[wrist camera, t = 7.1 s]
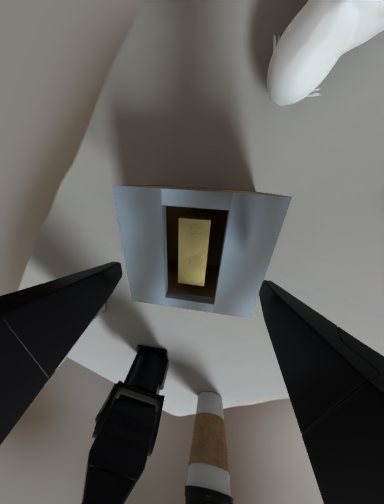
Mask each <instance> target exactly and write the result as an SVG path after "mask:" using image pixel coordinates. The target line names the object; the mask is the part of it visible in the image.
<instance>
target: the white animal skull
mask: <svg viewBox="0 0 384 504" xmlns="http://www.w3.org/2000/svg"><path fill="white" fill-rule="evenodd" d="M383 30H384V0H308V1H307V3H306V4H305V6H304V7H303V8H302V9H301V10H300V12H299V13H298V14H297V15H296V16H295V18H294V19H293V20H292V21H291V23H290V24H289V25H288V27H287V28H286V30H285V31H284V33H283V34H282V36H281V38H280V40H279V38H278V43H277V45H276V36H275V37H274V38H273V39H274V40H273V55H272V57H271V60H270V63H269V67H268V73H267V91H268V93H269V97H270V99H271V100H272V101H273V102H274V103H276V104H279V105H281V106H283V105H288V104H293V103H296V102H298V101H300V100H302V99H303V98H305V97H311V96H318V95H320V94H319V93H311V92H313V91H317V90H320V89H316V90H314V89H315V88H316V87H317V86H318V85H319V84H320V83H321V82H322V81H323V79H324V78H325V77H326V76H327V74H328V73H329V72H330V70H331V69H332V67H333V66H334V65H335V63H336V62H337V60H338V59H339V57H340V56H341V55H342V54H344V53H346V52H347V51H349V50H351V49H353V48H355V47H357V46H359V45H361V44H363V43H364V42H366V41H367V40H369V39H370V38H372V37H374V36H375V35H377V34H378V33H380V32H381V31H383ZM279 36H280V35H279ZM321 95H322V94H321Z"/></svg>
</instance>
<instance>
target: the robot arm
mask: <svg viewBox="0 0 384 504" xmlns="http://www.w3.org/2000/svg"><path fill="white" fill-rule="evenodd" d="M121 277H122V268H121V264H120V263H119V262H111V263H108V264H104V265H101V266H98V267H95V268H91V269H88V270H85V271H82V272H78V273H75V274H72V275H69V276H65V277H62V278H59V279H56V280H53V281H49V282H46V283H44V284H39V285H36V286H33V287H30V288H26V289H23V290H20V291H16V292H13V293H9V294H6V295H2V296H0V445H1V443H2V442H3V441H4V439H5V438H6V437H7V435H8V434H9V433H10V431H11V430H12V428H13V427H14V426H15V424H16V423H17V422H18V420H19V419H20V418H21V416H22V415H23V414H24V412H25V411H26V410H27V408H28V407H29V406H30V404H31V403H32V401H33V400H34V399H35V397H36V396H37V395H38V393H39V392H40V390H41V389H42V388H43V387H44V385H45V384H46V382H47V381H48V380H49V379H48V378H50V377H51V376H52V374H53V373H54V371H55V370H56V369H57V367H58V366H59V365H60V363H61V362H62V361H63V359H64V358H65V357H66V355H67V354H68V352H69V351H70V350H71V348H72V347H73V346H74V344H75V343H76V342H77V340H78V339H79V338H80V336H81V335H82V334H83V332H84V331H85V329H86V328H87V327H88V325H89V324H90V323H91V321H92V320H93V319H94V317H95V316H96V315H97V313H98V312H99V311H100V309H101V308H102V306H103V305H104V304H105V302H106V301H107V300H108V298H109V297H110V295H111V294H112V292H113V290H114V289H115V287H116V285H117V284H118V282H119V280H120V279H121ZM259 296H260V301H261V306H262V311H263V316H264V320H265V323H266V326H267V329H268V333H269V336H270V339H271V342H272V345H273V348H274V351H275V354H276V357H277V360H278V363H279V366H280V369H281V372H282V376H283V379H284V382H285V385H286V388H287V391H288V394H289V397H290V400H291V403H292V406H293V409H294V412H295V415H296V418H297V422H298V425H299V428H300V431H301V433H302V438H303V441H304V444H305V447H306V450H307V453H308V456H309V459H310V462H311V465H312V468H313V471H314V474H315V478H316V480H317V484H318V486H319V490H320V493H321V495H322V499H323V502H324V504H384V356H382V355H381V354H379V353H378V352H376V351H374V350H373V349H371V348H370V347H368V346H367V345H365V344H363V343H362V342H360V341H359V340H357V339H356V338H354V337H353V336H351V335H350V334H348V333H347V332H345V331H344V330H343V329H341V328H340V327H337V326H336V325H335V324H334V323H332V322H331V321H329V320H328V319H326V318H325V317H323V316H322V315H320V314H319V313H317V312H316V311H315V310H313V309H312V308H310V307H309V306H307V305H306V304H304V303H303V302H301V301H300V300H298V299H297V298H295V297H294V296H292V295H291V294H290V293H288V292H287V291H285V290H284V289H282V288H281V287H279V286H278V285H276V284H275V283H273V282H272V281H267V280H264V281H263V282H262V285H261V288H260V291H259ZM136 349H137V355H136V357H135V359H134V361H133V364H132V366H131V368H130V370H129V372H128V375H127V377H126V379H125V381H124V383H122V381H119V382H118V383H117V384H114V386H113V388H112V390H111V392H110V394H109V396H108V398H107V400H106V401H105V403H104V405H103V406H102V408H101V410H100V411H99V413H98V415H97V417H96V419H95V421H96V426H95V431H94V433H93V436H92V438H95V440H94V443H93V445H92V447H91V449H90V452H89V457H88V462H87V467H86V474H85V481H84V489H83V498H82V504H124V502H125V501H126V499H127V497H128V496H129V494H130V492H131V491H132V489H133V487H134V486H135V484H136V482H137V481H138V479H139V477H140V476H141V474H142V472H143V470H144V468H145V464H146V460H147V456H151V454H152V451H153V448H154V444H155V441H156V437H157V433H158V427H159V423H160V417H161V412H162V407H163V401H164V396H163V395H159V391H160V390H162V389H163V388H164V383H165V379H166V375H167V371H168V367H169V360H168V358H167V351H166V350H162V349H157V348H151V347H146V346H140V345H138V346H137V348H136ZM117 397H118V398H117Z"/></svg>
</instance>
